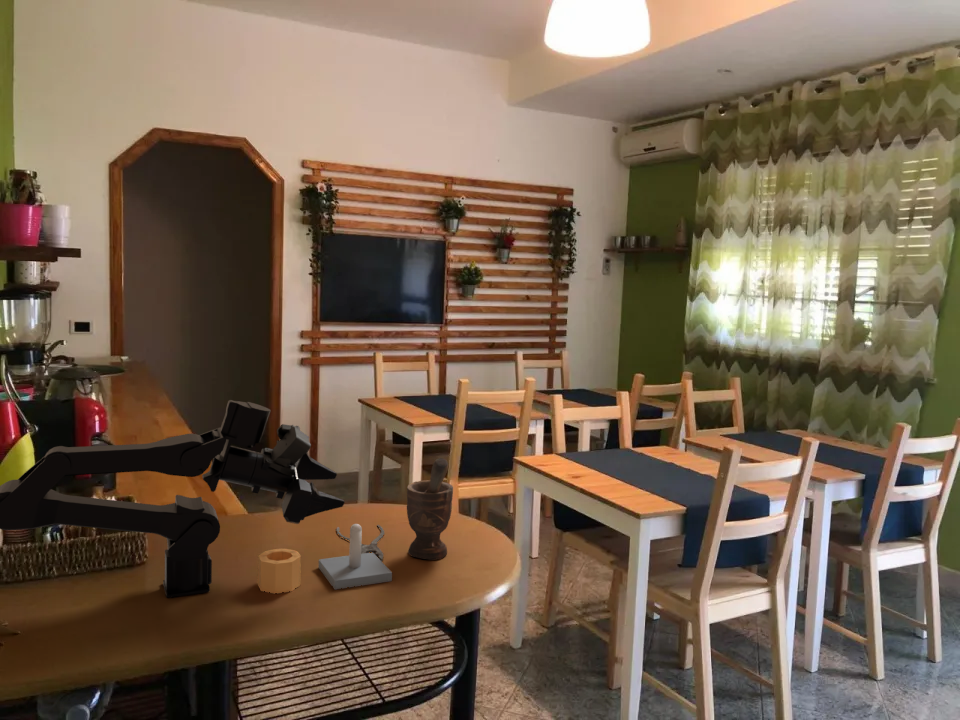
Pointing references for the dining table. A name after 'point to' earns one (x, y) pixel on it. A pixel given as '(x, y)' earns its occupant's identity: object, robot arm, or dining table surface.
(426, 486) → the mortar and pestle
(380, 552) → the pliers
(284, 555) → the collar
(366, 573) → the pin base
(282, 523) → the dining table surface
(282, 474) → the robot arm
